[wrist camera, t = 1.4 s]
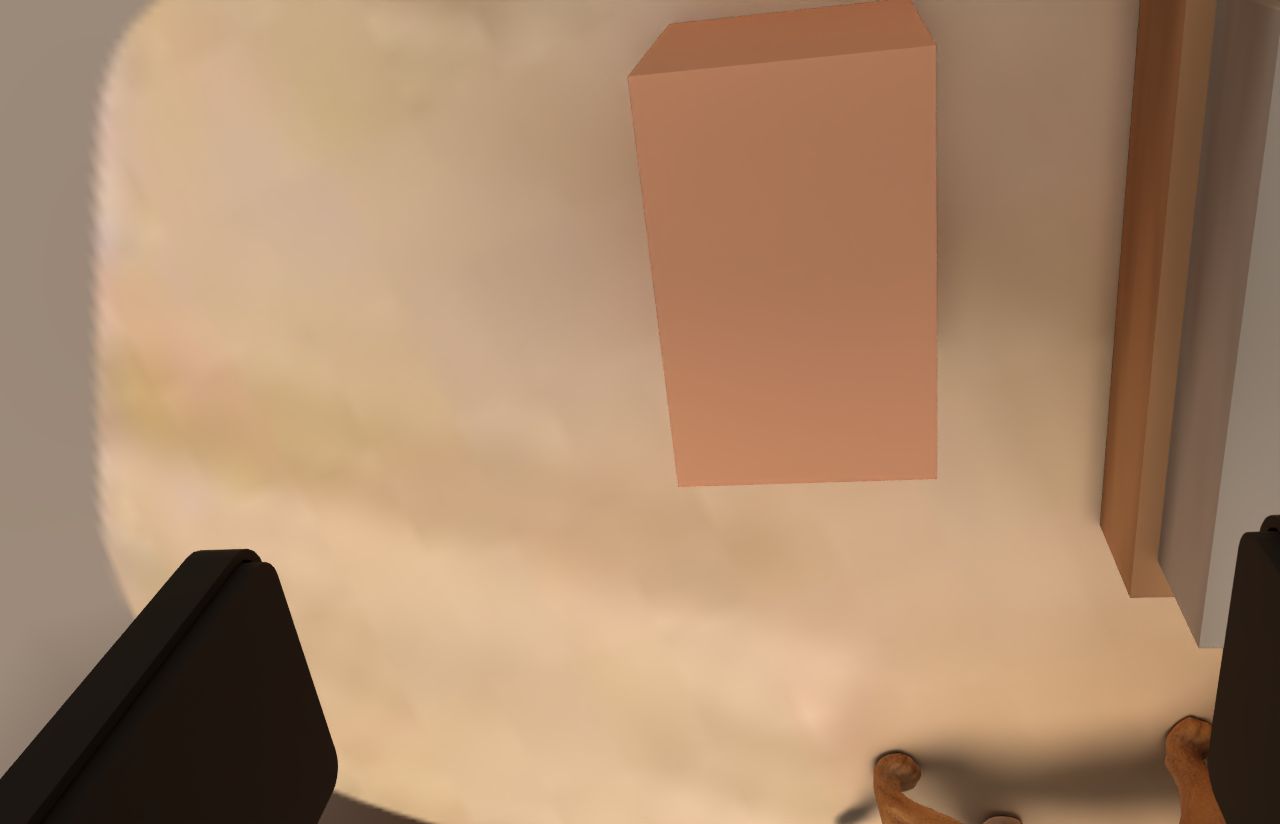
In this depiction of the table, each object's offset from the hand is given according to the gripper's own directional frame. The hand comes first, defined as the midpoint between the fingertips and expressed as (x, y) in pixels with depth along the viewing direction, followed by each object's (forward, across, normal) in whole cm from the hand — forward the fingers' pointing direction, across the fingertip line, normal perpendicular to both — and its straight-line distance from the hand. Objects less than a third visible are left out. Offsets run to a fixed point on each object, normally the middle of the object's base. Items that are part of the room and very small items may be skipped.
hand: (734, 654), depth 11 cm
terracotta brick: (+16, -1, 0) cm, 16 cm away
